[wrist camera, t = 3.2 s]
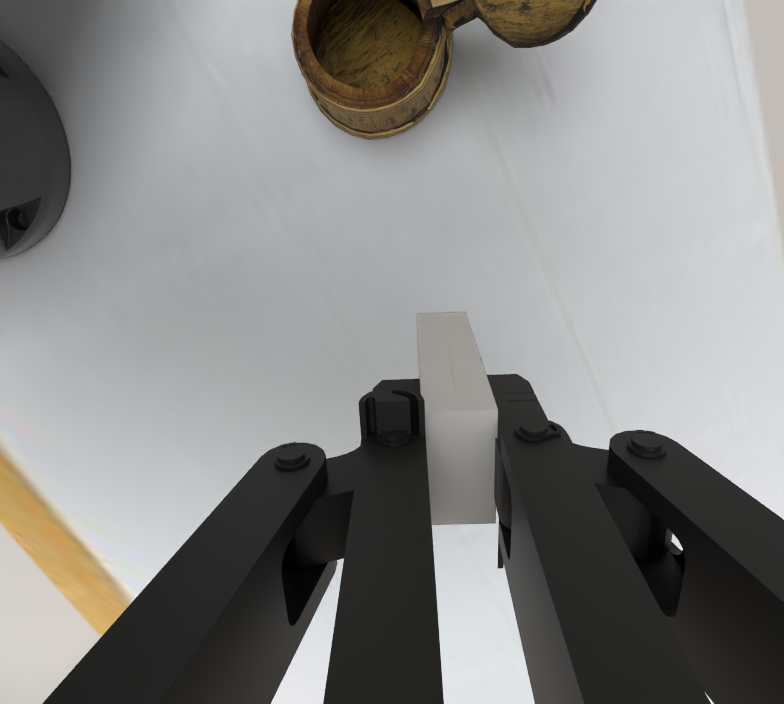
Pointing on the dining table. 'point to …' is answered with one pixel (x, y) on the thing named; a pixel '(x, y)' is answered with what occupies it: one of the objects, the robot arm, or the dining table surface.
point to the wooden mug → (404, 52)
